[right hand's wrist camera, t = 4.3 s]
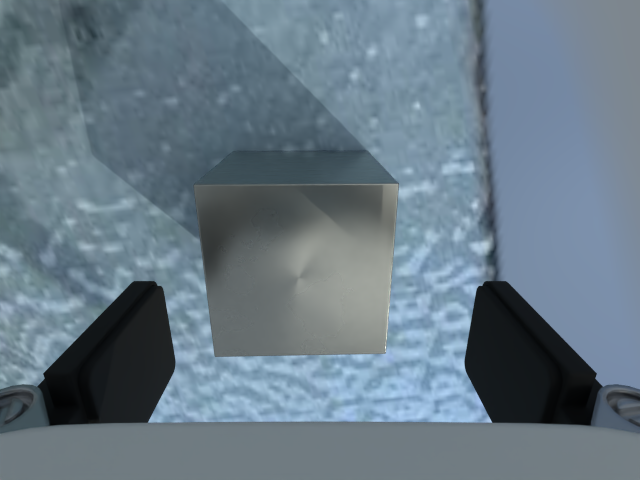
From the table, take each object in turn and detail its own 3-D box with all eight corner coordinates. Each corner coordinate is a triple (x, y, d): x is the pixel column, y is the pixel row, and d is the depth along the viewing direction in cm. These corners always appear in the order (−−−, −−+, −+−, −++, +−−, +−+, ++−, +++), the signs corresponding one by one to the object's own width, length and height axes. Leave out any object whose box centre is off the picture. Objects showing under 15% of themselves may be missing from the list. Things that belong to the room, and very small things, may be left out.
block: (242, 275, 22) (214, 357, 15) (232, 151, 19) (192, 184, 13) (362, 274, 22) (386, 354, 15) (368, 150, 19) (399, 182, 13)
